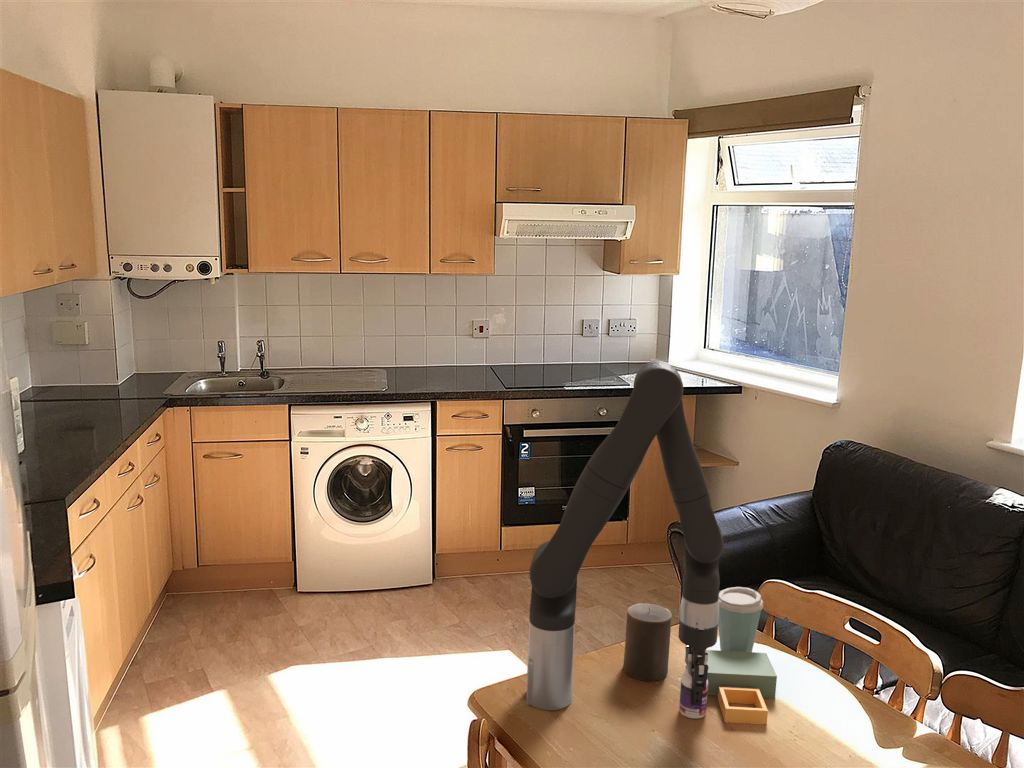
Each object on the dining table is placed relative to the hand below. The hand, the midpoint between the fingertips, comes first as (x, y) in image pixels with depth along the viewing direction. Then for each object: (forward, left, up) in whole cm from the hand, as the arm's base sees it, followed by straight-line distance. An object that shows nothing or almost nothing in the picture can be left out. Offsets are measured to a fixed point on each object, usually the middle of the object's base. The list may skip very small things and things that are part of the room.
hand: (693, 696), depth 178 cm
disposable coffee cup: (+13, +25, -4) cm, 28 cm away
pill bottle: (0, 0, -4) cm, 4 cm away
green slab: (+10, +6, -3) cm, 12 cm away
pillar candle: (-8, +16, -4) cm, 18 cm away
